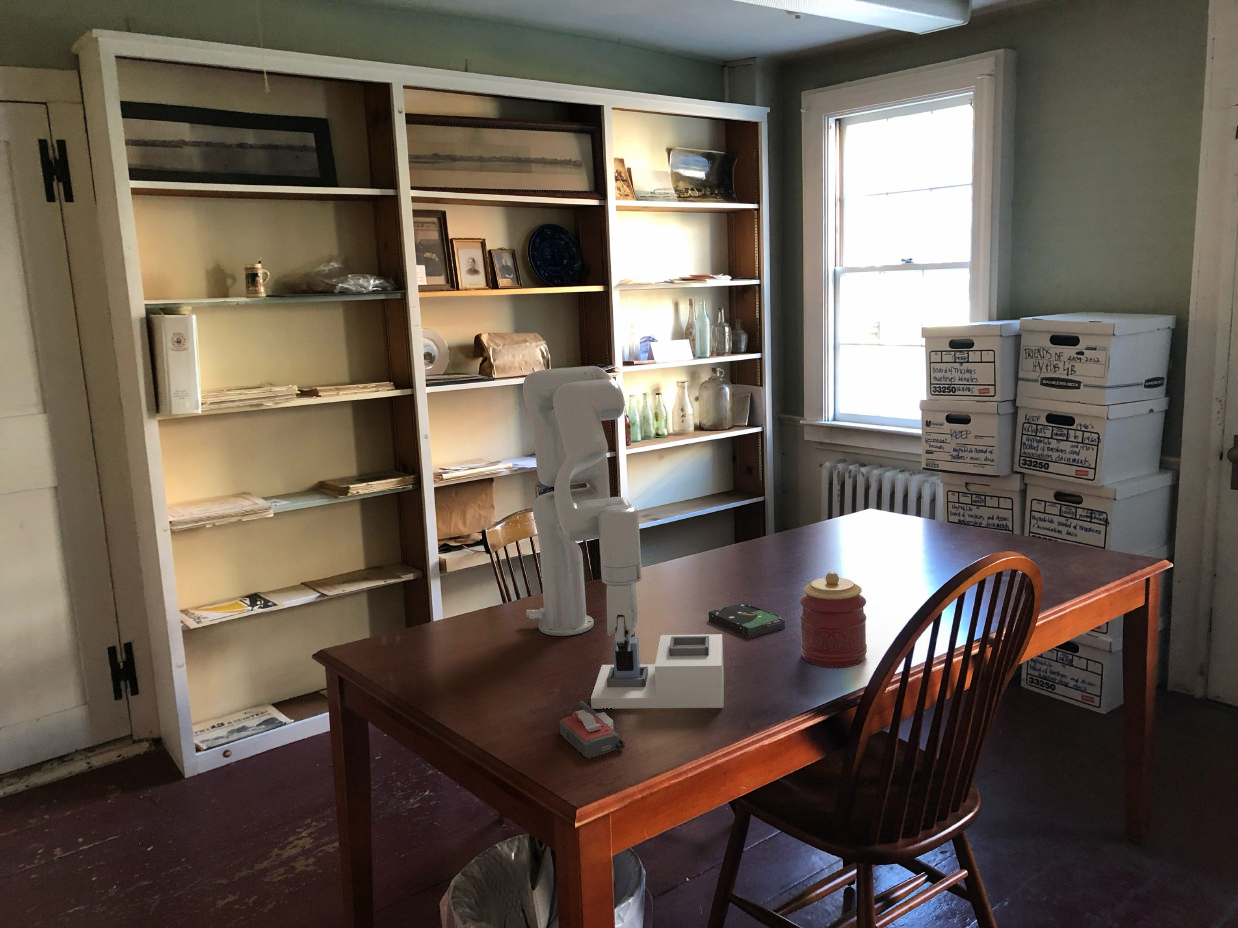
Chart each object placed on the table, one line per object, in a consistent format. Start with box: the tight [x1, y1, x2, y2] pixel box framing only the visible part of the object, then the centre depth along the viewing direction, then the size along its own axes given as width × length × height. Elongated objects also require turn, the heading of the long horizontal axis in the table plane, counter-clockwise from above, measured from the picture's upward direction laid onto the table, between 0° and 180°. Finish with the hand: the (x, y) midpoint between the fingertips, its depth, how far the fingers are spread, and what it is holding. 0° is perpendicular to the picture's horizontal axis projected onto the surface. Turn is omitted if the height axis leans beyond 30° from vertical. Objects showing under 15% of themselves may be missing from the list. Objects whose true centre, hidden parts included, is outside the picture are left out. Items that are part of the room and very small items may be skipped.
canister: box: [799, 571, 868, 668], centre depth 193 cm, size 13×13×18 cm
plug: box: [612, 636, 641, 678], centre depth 182 cm, size 4×4×8 cm
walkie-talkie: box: [559, 700, 626, 759], centre depth 166 cm, size 9×4×20 cm
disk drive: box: [708, 602, 786, 639], centre depth 216 cm, size 10×3×15 cm
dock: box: [590, 633, 725, 710], centre depth 182 cm, size 24×16×10 cm, turn 84°
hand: (626, 663), depth 182 cm, fingers open, 5 cm apart
